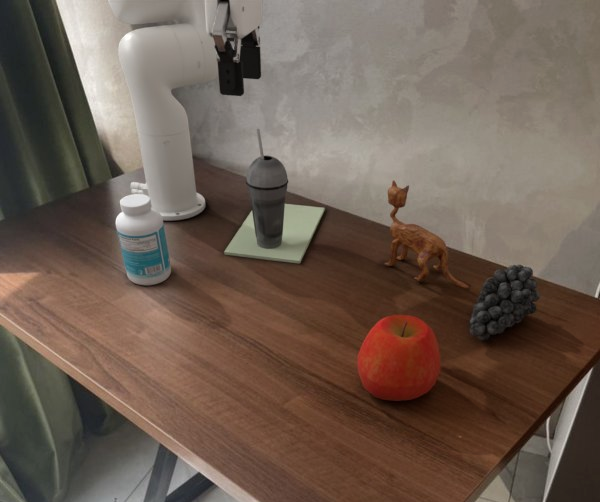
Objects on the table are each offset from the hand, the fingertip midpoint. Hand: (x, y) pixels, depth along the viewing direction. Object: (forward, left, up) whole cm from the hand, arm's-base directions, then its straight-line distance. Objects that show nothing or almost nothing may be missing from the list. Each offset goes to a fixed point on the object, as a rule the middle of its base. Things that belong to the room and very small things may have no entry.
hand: (241, 85), depth 83 cm
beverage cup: (0, +11, -29) cm, 31 cm away
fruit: (+40, -5, -30) cm, 50 cm away
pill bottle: (-17, -4, -30) cm, 35 cm away
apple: (+27, -23, -30) cm, 47 cm away
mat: (0, +17, -30) cm, 34 cm away
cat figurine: (+28, +7, -30) cm, 42 cm away
